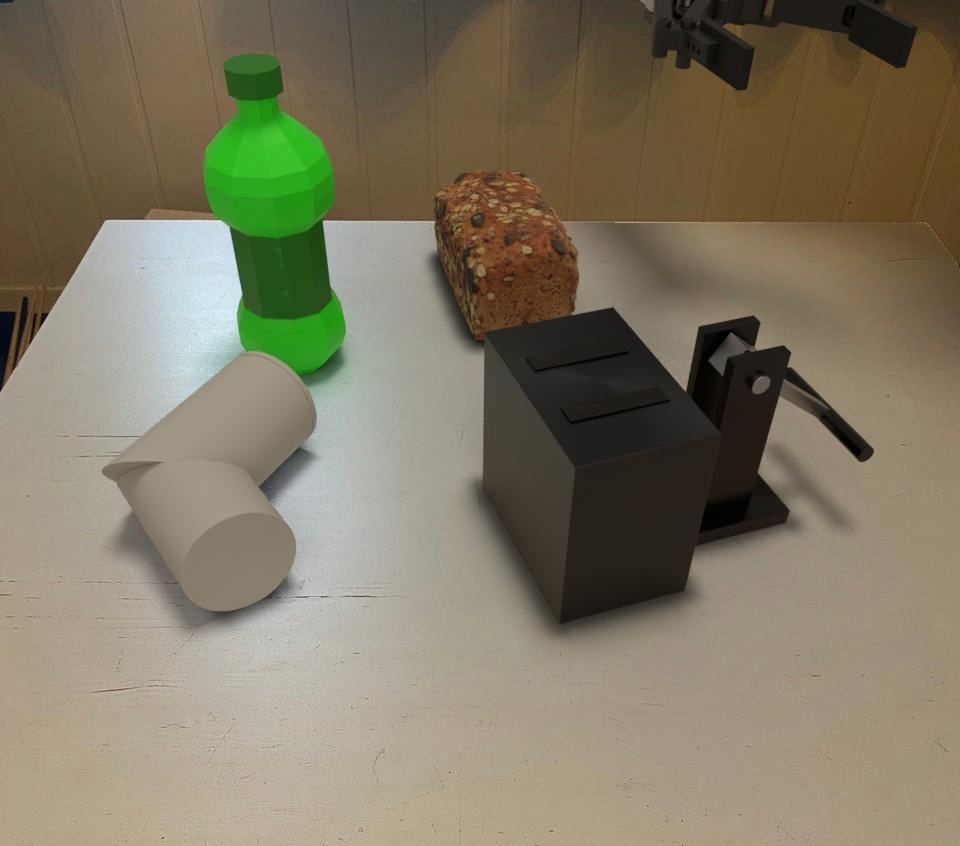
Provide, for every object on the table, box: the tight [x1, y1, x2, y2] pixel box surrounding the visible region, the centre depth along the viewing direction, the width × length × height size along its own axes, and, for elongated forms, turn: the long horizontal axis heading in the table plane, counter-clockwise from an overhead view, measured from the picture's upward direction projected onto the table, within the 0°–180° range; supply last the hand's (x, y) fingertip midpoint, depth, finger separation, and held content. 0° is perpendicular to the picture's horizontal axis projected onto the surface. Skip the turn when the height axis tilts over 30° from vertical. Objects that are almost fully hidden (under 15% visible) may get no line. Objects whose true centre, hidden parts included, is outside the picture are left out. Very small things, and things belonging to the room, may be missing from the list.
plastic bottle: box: [202, 53, 347, 377], centre depth 81 cm, size 10×10×25 cm
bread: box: [432, 169, 580, 342], centre depth 95 cm, size 19×11×10 cm, turn 12°
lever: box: [708, 333, 875, 463], centre depth 71 cm, size 13×11×2 cm
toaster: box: [482, 306, 722, 624], centre depth 70 cm, size 10×16×14 cm, turn 20°
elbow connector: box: [101, 351, 318, 612], centre depth 73 cm, size 18×11×20 cm
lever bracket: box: [685, 314, 792, 546], centre depth 72 cm, size 10×8×15 cm
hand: (829, 58), depth 71 cm, fingers open, 13 cm apart
